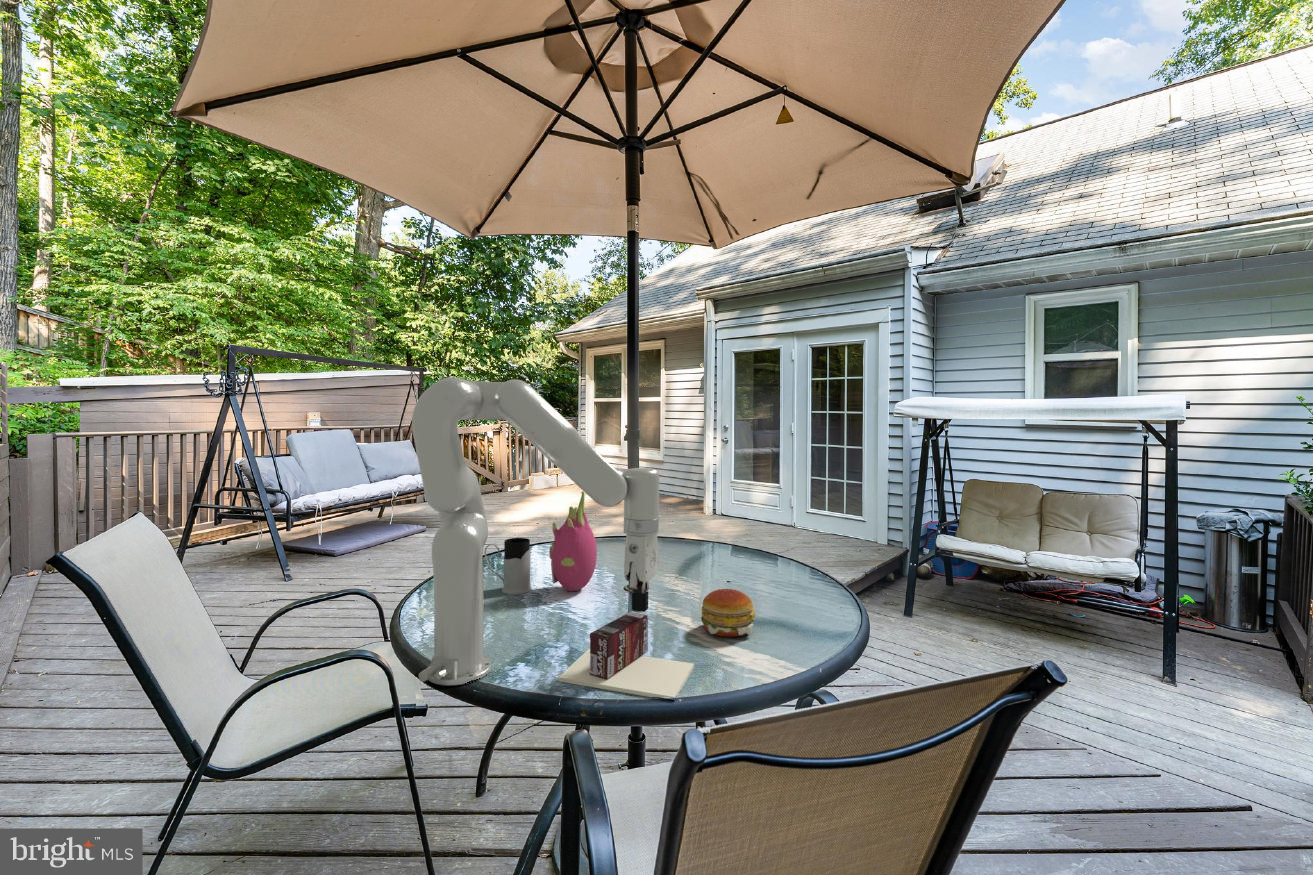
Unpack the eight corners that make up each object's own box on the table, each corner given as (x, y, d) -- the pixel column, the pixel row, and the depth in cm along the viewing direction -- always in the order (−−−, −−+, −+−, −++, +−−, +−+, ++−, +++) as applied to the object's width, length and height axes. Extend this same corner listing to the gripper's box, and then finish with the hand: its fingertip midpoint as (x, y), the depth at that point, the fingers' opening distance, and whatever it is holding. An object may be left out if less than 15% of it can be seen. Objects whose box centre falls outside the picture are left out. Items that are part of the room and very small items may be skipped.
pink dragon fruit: (561, 580, 180) (561, 487, 179) (602, 582, 178) (603, 488, 177) (542, 598, 162) (542, 494, 161) (588, 601, 160) (588, 496, 159)
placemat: (674, 701, 104) (674, 697, 104) (558, 681, 112) (558, 677, 112) (693, 667, 119) (694, 663, 119) (589, 651, 126) (589, 647, 126)
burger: (723, 616, 149) (724, 579, 149) (766, 631, 140) (767, 591, 139) (689, 629, 140) (690, 590, 139) (732, 646, 130) (733, 603, 130)
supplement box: (649, 651, 124) (607, 681, 111) (631, 646, 127) (587, 675, 113) (649, 613, 124) (607, 638, 110) (631, 609, 126) (587, 633, 113)
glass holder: (527, 594, 166) (528, 543, 165) (479, 593, 166) (480, 543, 165) (534, 585, 174) (534, 537, 174) (489, 584, 175) (489, 536, 174)
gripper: (646, 533, 113) (645, 624, 113) (667, 520, 127) (666, 601, 128) (612, 531, 115) (610, 619, 116) (636, 518, 129) (635, 597, 130)
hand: (640, 609), depth 122 cm, fingers closed
